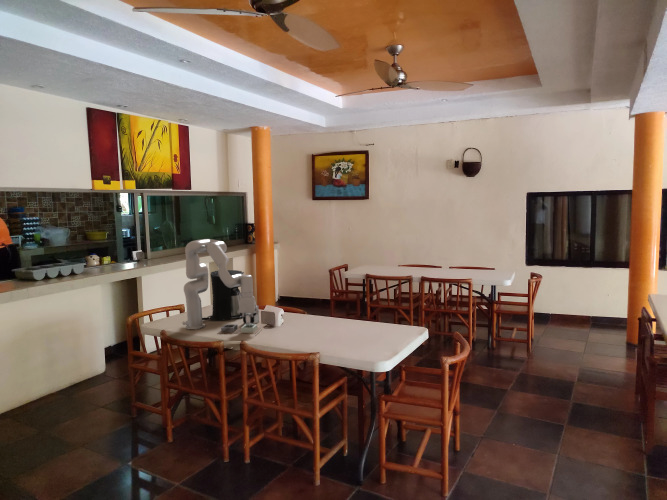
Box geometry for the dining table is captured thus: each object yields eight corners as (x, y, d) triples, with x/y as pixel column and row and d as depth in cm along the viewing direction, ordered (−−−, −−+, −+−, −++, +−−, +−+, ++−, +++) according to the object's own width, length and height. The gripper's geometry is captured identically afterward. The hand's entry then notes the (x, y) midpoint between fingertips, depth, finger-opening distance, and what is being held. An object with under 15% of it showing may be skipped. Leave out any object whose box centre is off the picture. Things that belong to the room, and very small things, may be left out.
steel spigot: (245, 330, 295) (244, 314, 294) (247, 328, 299) (246, 313, 298) (251, 330, 295) (250, 314, 294) (253, 328, 299) (252, 313, 297)
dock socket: (241, 332, 294) (240, 327, 293) (245, 329, 301) (244, 324, 301) (253, 332, 293) (253, 327, 292) (257, 329, 300) (257, 324, 300)
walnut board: (216, 336, 293) (216, 329, 292) (224, 329, 307) (224, 323, 306) (255, 336, 290) (255, 329, 289) (261, 329, 303) (261, 323, 303)
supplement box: (251, 326, 312) (250, 308, 311) (244, 325, 317) (243, 306, 315) (259, 324, 318) (258, 305, 317) (252, 322, 323) (251, 304, 321)
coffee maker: (251, 316, 340) (248, 270, 336) (210, 325, 319) (206, 276, 315) (235, 311, 357) (232, 267, 353) (195, 319, 336) (192, 273, 332)
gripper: (232, 295, 292) (234, 324, 294) (258, 295, 290) (260, 324, 292) (236, 293, 299) (237, 321, 301) (261, 293, 297) (263, 321, 299)
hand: (248, 322), depth 296 cm, fingers open, 4 cm apart
